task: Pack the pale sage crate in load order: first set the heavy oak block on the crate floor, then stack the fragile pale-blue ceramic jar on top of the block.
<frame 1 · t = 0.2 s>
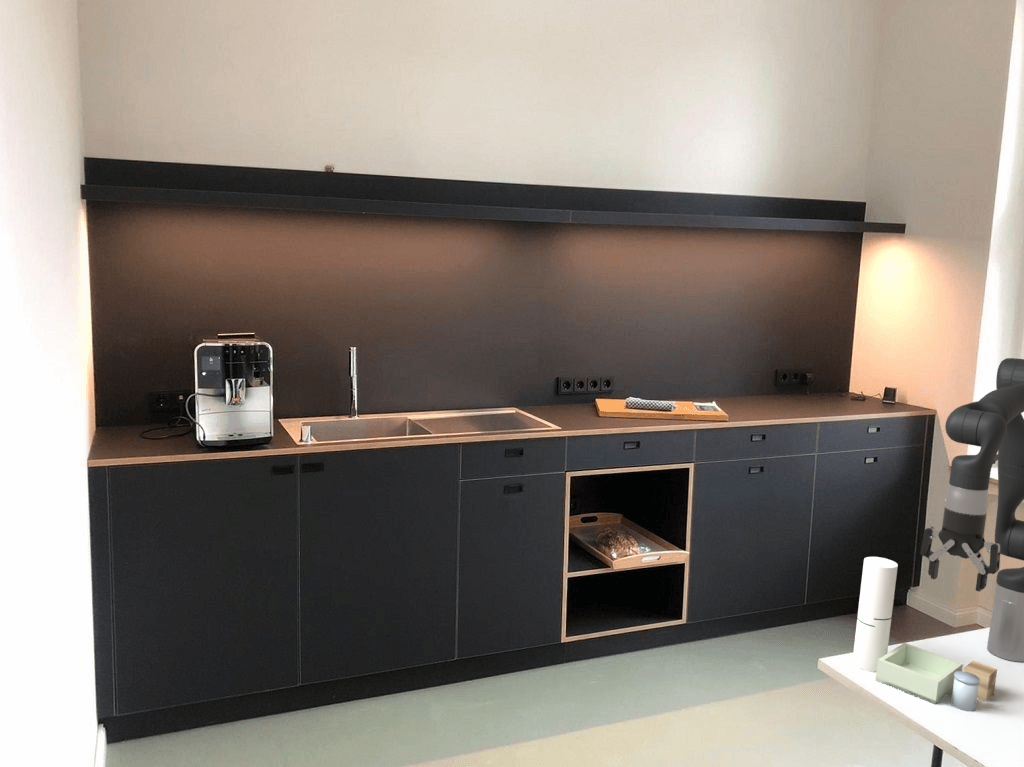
hand: (955, 584, 174), 28 cm above the table, fingers open, 8 cm apart
ceramic jar: (963, 705, 182), on the table
cylindrical container: (868, 665, 199), on the table
crate: (917, 682, 191), on the table
oak block: (977, 693, 188), on the table
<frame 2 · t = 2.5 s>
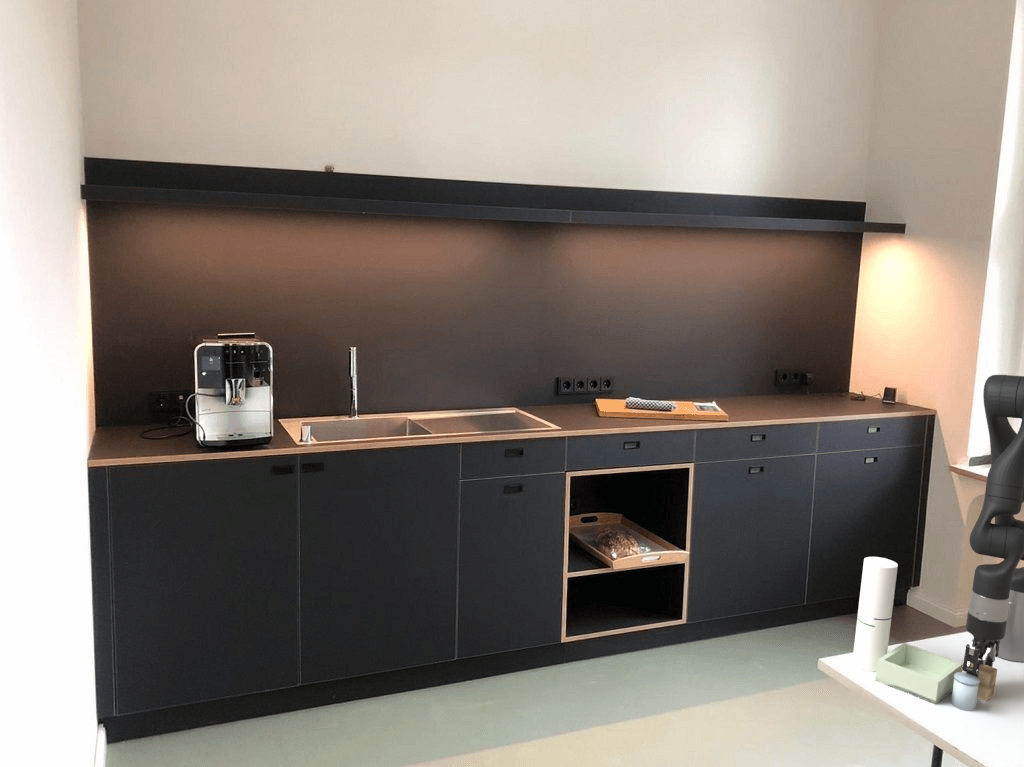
hand: (977, 682, 188), 2 cm above the table, fingers open, 8 cm apart
ceramic jar: (962, 706, 182), on the table, touching gripper
everything else where it was.
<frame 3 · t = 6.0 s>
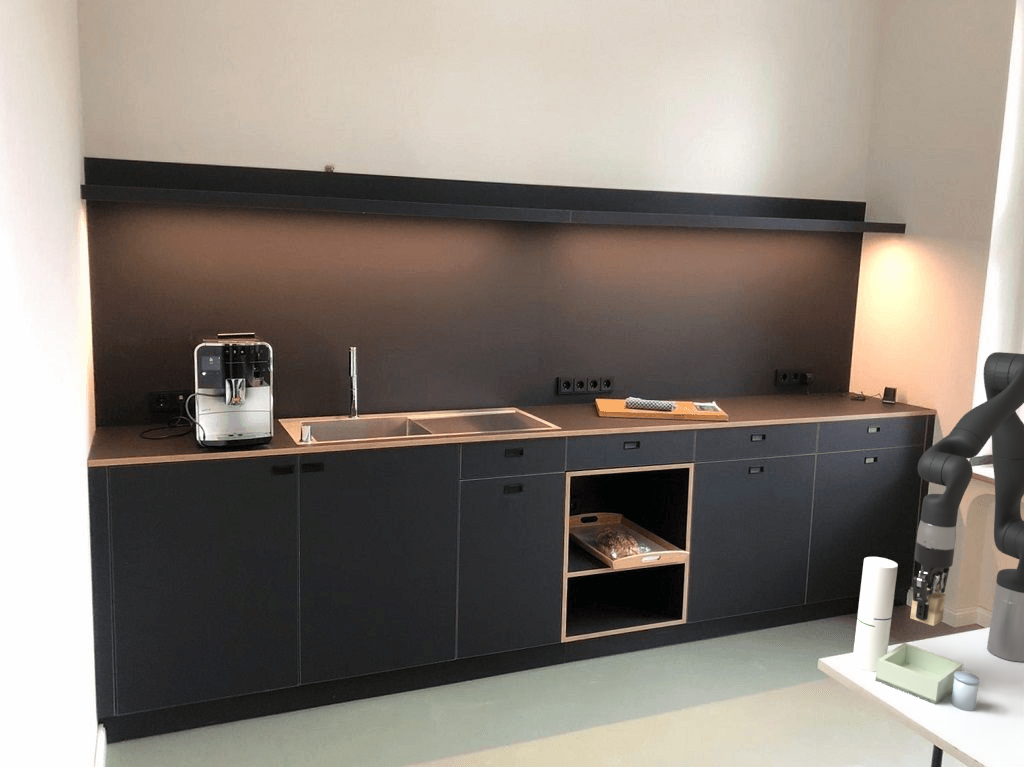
hand: (926, 615, 189), 16 cm above the table, fingers closed on oak block, 5 cm apart
ceramic jar: (963, 705, 182), on the table
oak block: (926, 619, 189), point 15 cm above the table, touching gripper
everything else where it was.
when the fingers open (3 cm above the table, at t = 8.7 s): oak block drops 1 cm, resting on crate.
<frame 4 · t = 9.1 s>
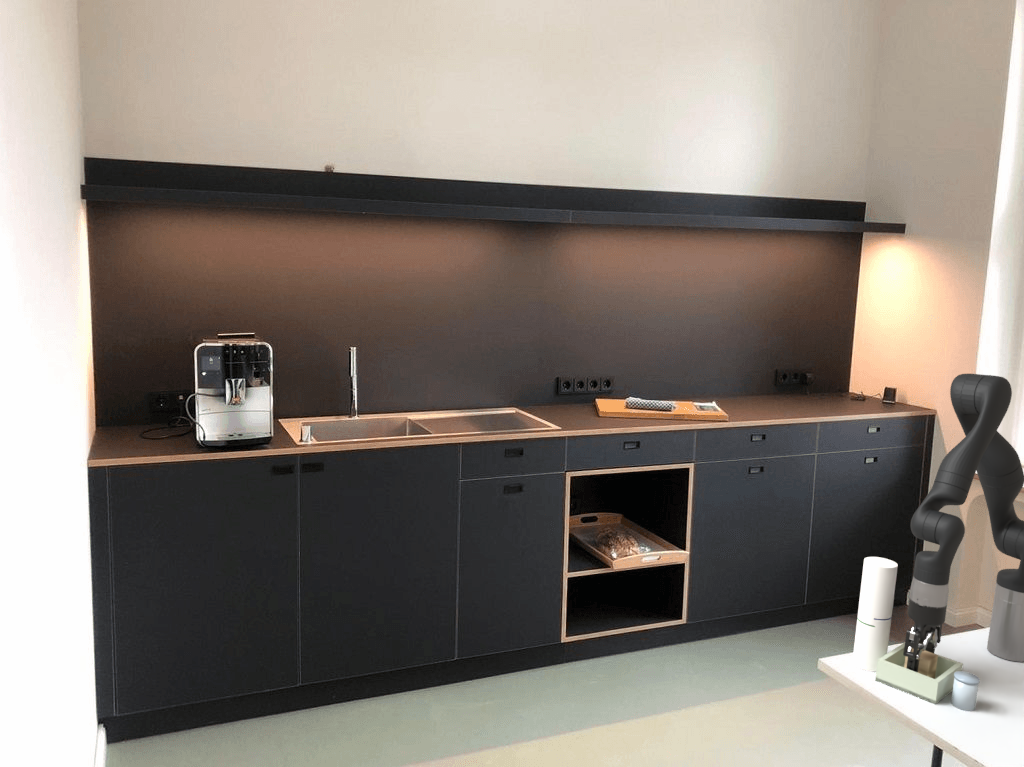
hand: (919, 667, 191), 3 cm above the table, fingers open, 8 cm apart
oak block: (918, 679, 191), point 1 cm above the table, touching crate
everything else where it was.
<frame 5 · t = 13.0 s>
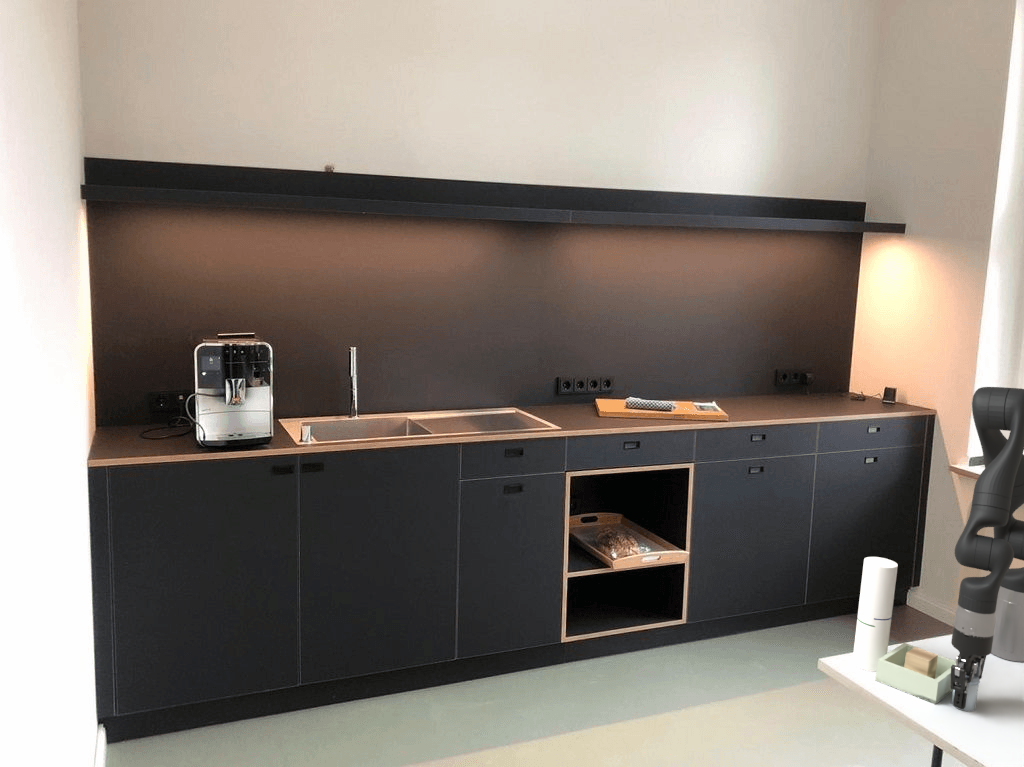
hand: (963, 703, 182), 1 cm above the table, fingers closed on ceramic jar, 4 cm apart
ceramic jar: (963, 705, 182), on the table, touching gripper
everything else where it was.
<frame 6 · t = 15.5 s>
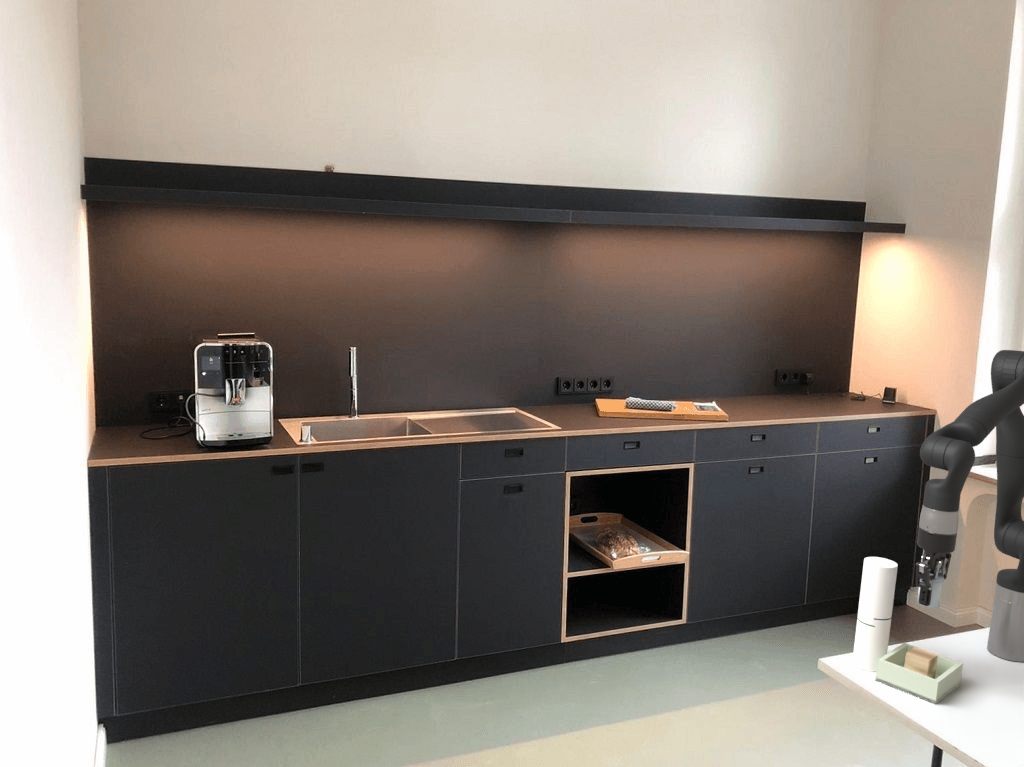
hand: (928, 601, 188), 19 cm above the table, fingers closed on ceramic jar, 4 cm apart
ceramic jar: (928, 603, 188), point 19 cm above the table, touching gripper
everything else where it was.
when the fingers open (9 cm above the table, at t = 18.4 s): ceramic jar drops 1 cm, resting on oak block.
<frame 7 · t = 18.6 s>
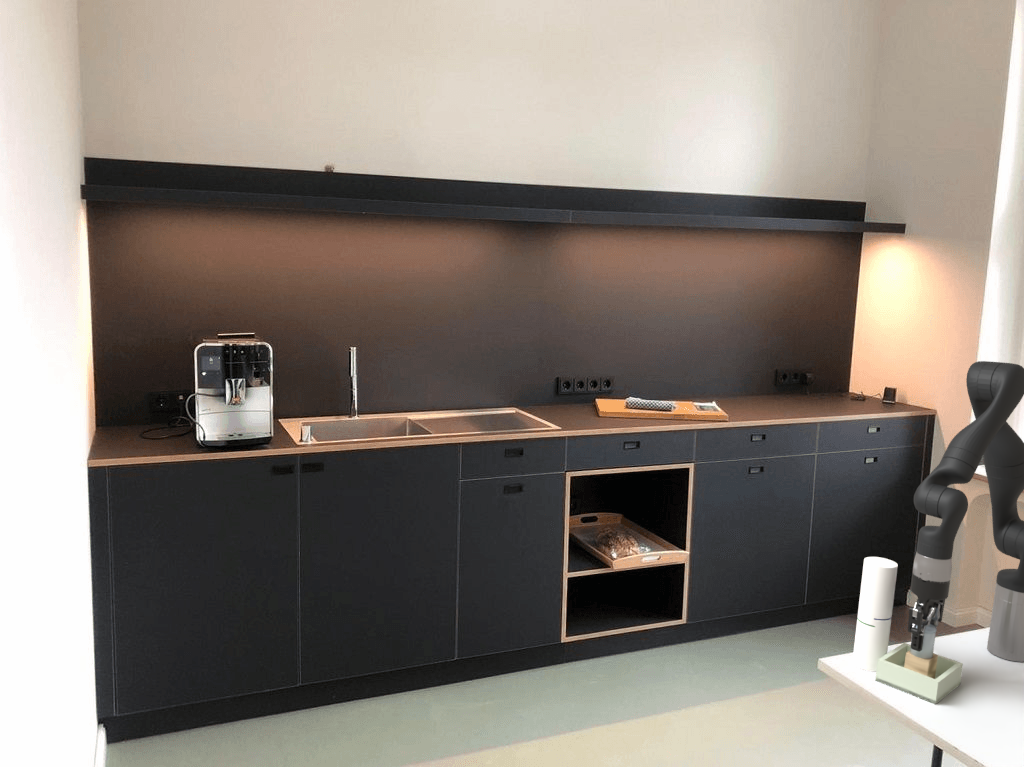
hand: (922, 645, 190), 9 cm above the table, fingers open, 6 cm apart
ceramic jar: (921, 654, 190), point 7 cm above the table, touching oak block
oak block: (918, 679, 191), point 1 cm above the table, touching ceramic jar, crate
everything else where it was.
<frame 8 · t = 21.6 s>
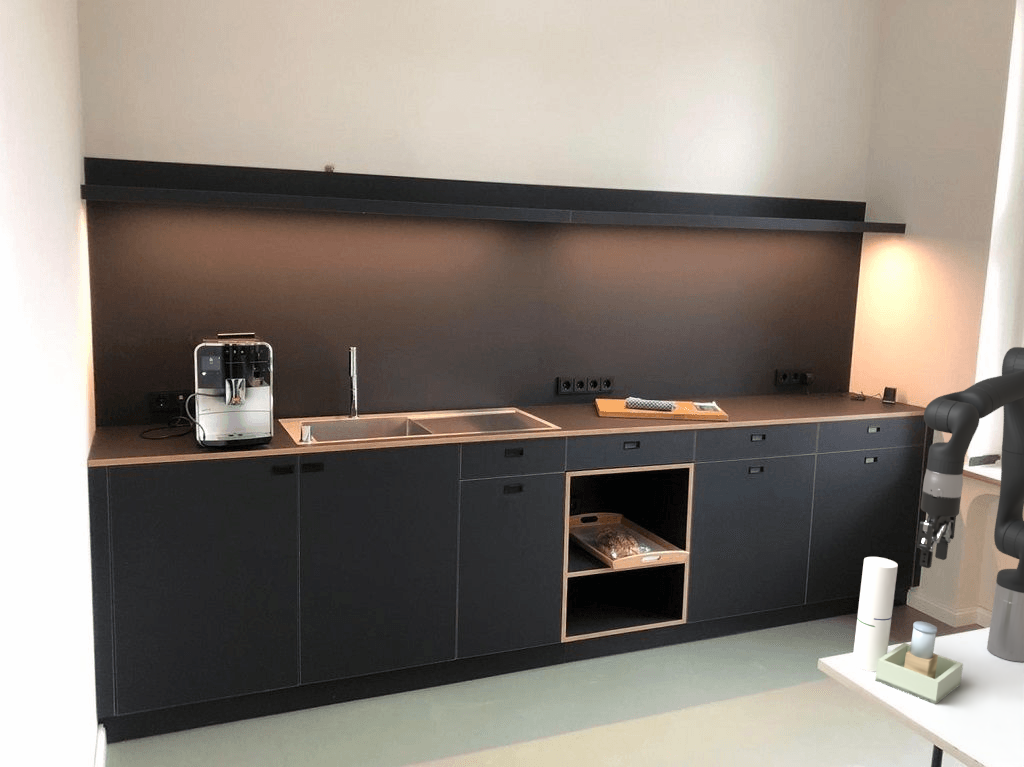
hand: (932, 562, 187), 28 cm above the table, fingers open, 8 cm apart
nothing on the table moved.
at the end: oak block inside the target area on the crate (0.1 cm from its centre), point 0.8 cm above the crate's base; ceramic jar 0.2 cm off-centre on the oak block, point 6.1 cm above the oak block's base; ceramic jar tilted 2° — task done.
